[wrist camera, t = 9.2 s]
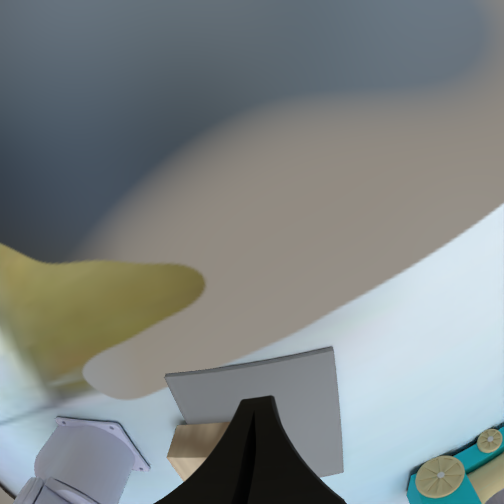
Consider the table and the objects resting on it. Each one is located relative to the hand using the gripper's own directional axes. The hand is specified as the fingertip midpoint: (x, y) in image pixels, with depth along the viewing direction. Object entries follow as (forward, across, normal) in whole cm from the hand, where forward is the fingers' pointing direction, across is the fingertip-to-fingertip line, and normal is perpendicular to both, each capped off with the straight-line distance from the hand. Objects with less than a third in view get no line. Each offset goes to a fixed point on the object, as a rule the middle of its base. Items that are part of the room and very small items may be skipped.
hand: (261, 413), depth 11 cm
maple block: (+7, +2, +11) cm, 13 cm away
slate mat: (+9, +2, +12) cm, 15 cm away
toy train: (+10, -22, +29) cm, 37 cm away
